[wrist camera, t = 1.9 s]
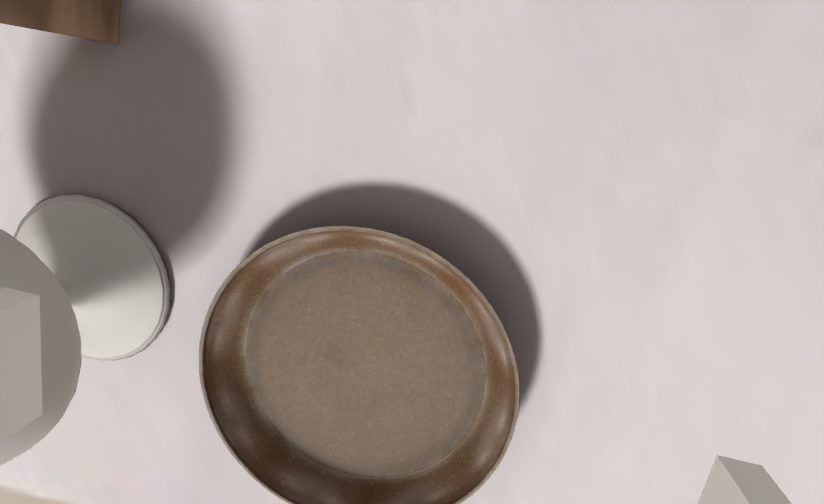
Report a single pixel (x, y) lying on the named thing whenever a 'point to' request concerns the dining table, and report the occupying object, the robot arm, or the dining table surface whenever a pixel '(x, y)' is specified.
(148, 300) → the chalice
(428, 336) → the plant saucer
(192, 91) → the dining table surface
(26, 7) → the brown wooden block
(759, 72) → the dining table surface
